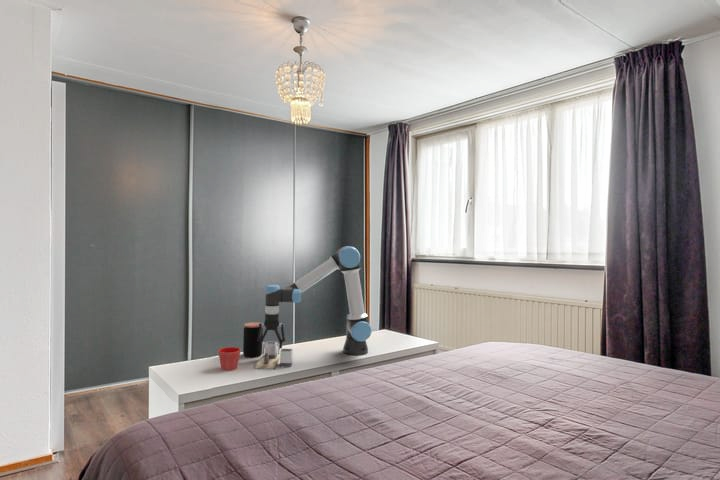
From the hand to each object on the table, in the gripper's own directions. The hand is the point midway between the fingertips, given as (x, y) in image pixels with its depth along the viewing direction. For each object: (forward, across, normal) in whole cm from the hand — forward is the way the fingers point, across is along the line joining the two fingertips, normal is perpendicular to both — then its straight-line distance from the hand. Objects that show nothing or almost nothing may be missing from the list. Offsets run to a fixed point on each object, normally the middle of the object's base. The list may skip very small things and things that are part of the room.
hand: (271, 354), depth 236 cm
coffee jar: (+3, +12, -8) cm, 15 cm away
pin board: (+3, 0, +6) cm, 7 cm away
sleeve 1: (+2, 0, 0) cm, 2 cm away
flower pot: (+3, +18, +17) cm, 25 cm away
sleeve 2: (+3, -10, +9) cm, 14 cm away
